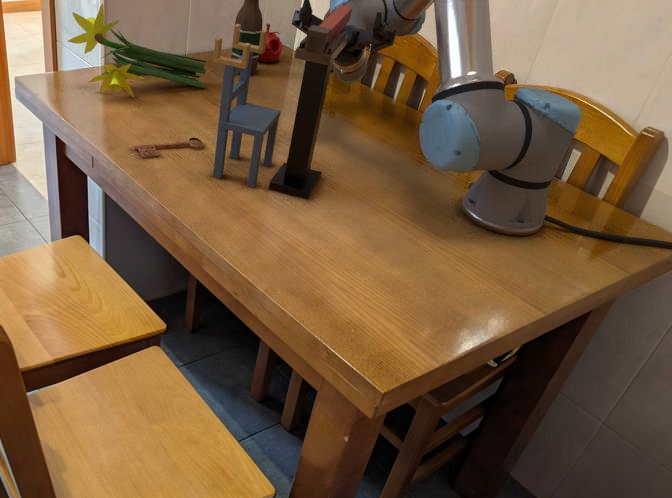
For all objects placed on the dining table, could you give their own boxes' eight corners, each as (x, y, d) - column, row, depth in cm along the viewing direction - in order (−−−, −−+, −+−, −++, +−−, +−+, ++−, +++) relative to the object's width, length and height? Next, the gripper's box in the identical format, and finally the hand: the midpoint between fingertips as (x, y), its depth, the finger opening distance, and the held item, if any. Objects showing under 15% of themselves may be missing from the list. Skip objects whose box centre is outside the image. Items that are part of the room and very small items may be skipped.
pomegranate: (241, 60, 182) (246, 25, 176) (250, 51, 189) (255, 16, 183) (275, 67, 180) (281, 31, 174) (283, 57, 188) (288, 23, 182)
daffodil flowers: (218, 104, 158) (86, 75, 138) (185, 115, 170) (59, 91, 150) (219, 31, 156) (85, -8, 136) (186, 48, 168) (58, 15, 148)
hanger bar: (335, 18, 123) (339, -1, 121) (351, 21, 122) (355, 2, 120) (304, 50, 106) (307, 29, 104) (322, 54, 105) (327, 33, 103)
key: (139, 159, 130) (208, 153, 135) (139, 155, 129) (209, 149, 134) (131, 145, 134) (198, 139, 139) (131, 141, 133) (199, 135, 138)
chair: (222, 151, 136) (237, 23, 119) (271, 164, 134) (293, 35, 117) (201, 174, 127) (214, 39, 111) (254, 188, 125) (275, 52, 108)
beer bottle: (251, 65, 180) (264, -33, 164) (261, 75, 174) (275, -25, 158) (224, 66, 177) (235, -34, 162) (234, 76, 172) (246, -26, 156)
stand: (285, 165, 134) (311, 23, 116) (322, 174, 132) (355, 31, 114) (265, 193, 124) (290, 42, 106) (305, 204, 122) (338, 52, 104)
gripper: (399, 79, 136) (401, 48, 116) (286, 55, 142) (269, 21, 121) (411, 42, 135) (415, 4, 114) (296, 19, 140) (281, -22, 120)
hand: (340, 12), depth 118 cm, fingers open, 13 cm apart
